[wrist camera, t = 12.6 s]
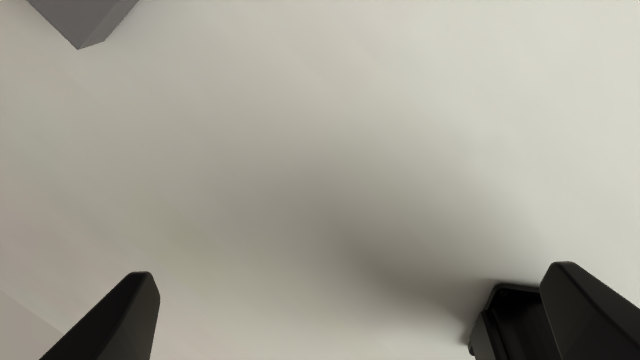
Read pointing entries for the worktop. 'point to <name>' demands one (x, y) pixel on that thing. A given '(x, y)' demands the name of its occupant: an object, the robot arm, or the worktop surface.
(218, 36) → the worktop surface
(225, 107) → the worktop surface
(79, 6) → the charcoal board
